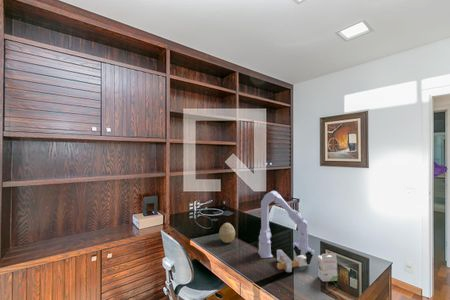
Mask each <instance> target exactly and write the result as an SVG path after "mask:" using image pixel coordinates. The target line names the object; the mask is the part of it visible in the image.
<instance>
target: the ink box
mask: <svg viewBox="0 0 450 300" xmlns="http://www.w3.org/2000/svg"><path fill="white" fill-rule="evenodd" d="M317 274H318V278H319V279H320V280H321V282H337V281H338V260H337V253H335V252H332V253H322V254H321V255H317ZM338 282H339V281H338Z"/></svg>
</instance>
